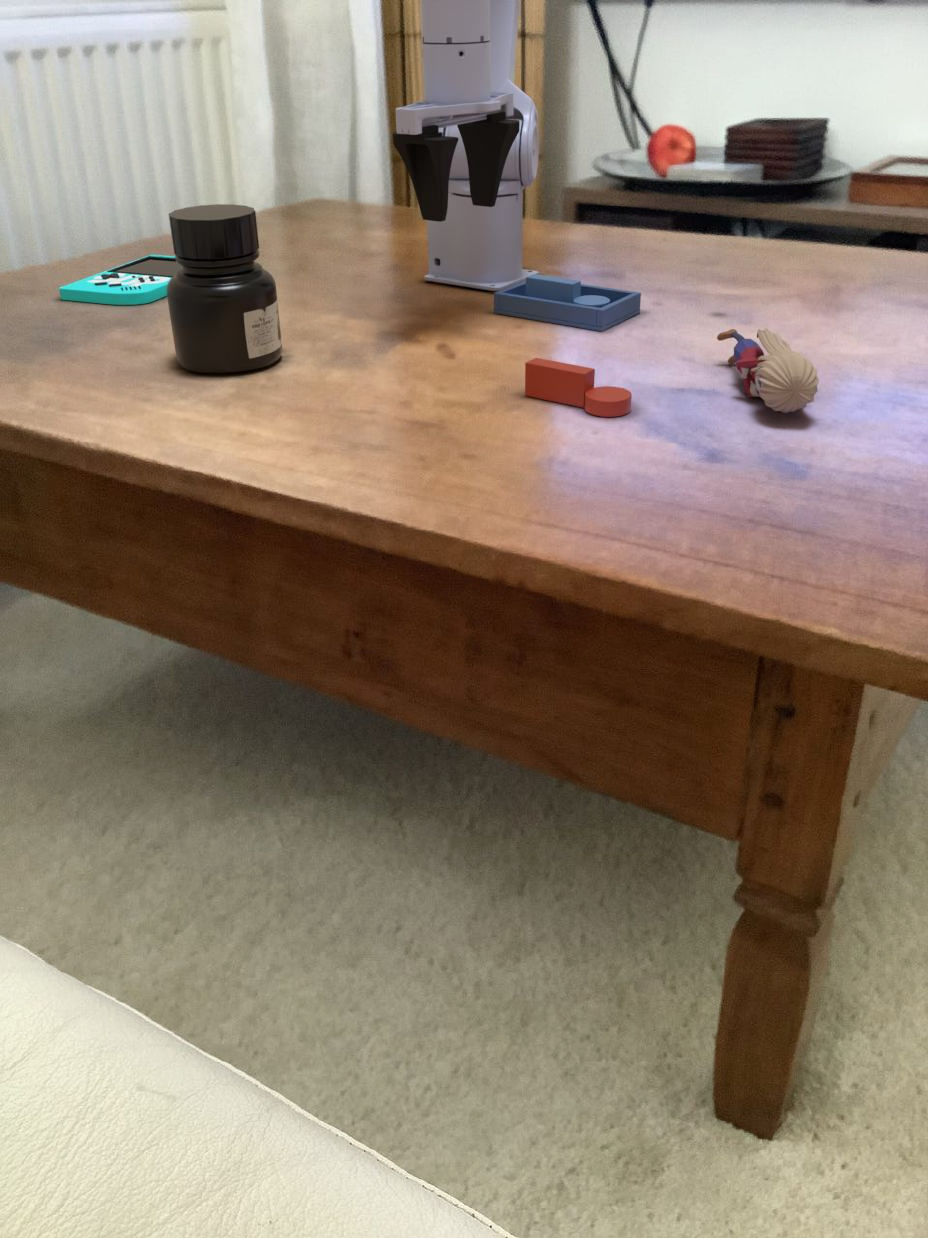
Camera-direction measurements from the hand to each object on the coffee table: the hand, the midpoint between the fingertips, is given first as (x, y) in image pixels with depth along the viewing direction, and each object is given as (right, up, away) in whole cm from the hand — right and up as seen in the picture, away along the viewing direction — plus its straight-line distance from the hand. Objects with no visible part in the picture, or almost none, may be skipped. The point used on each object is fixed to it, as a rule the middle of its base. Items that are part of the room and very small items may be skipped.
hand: (459, 212), depth 101 cm
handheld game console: (-33, -1, +18) cm, 38 cm away
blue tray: (+10, -8, +5) cm, 14 cm away
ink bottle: (-19, -15, -5) cm, 25 cm away
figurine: (+23, -19, -15) cm, 34 cm away
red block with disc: (+8, -20, -16) cm, 27 cm away
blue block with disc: (+10, -7, +5) cm, 13 cm away
